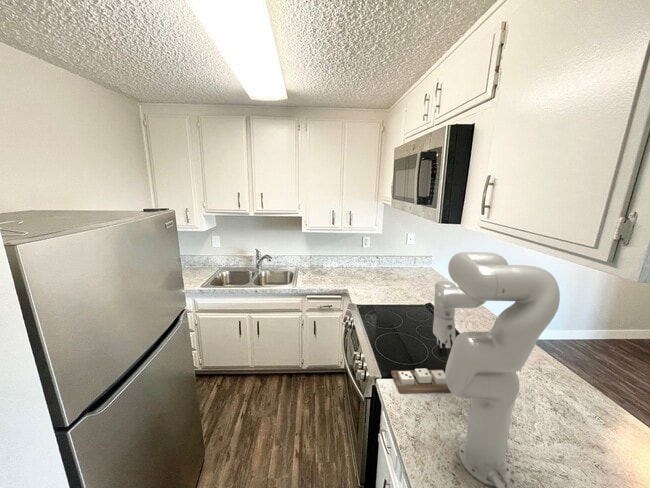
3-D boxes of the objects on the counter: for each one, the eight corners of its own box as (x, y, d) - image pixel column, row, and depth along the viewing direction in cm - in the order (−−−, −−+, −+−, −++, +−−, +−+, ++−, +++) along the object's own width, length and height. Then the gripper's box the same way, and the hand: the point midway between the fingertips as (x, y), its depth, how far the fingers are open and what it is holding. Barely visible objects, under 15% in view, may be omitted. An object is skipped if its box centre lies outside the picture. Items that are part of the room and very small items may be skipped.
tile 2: (431, 382, 105) (431, 375, 104) (419, 383, 105) (419, 376, 104) (426, 374, 110) (426, 368, 109) (414, 375, 109) (414, 368, 109)
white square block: (414, 385, 105) (414, 378, 104) (401, 386, 105) (402, 379, 104) (409, 377, 110) (410, 370, 109) (398, 377, 109) (398, 371, 109)
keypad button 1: (448, 385, 105) (448, 377, 104) (435, 385, 105) (436, 378, 104) (442, 376, 110) (442, 370, 109) (430, 377, 110) (431, 370, 109)
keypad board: (457, 392, 102) (457, 389, 101) (399, 393, 101) (399, 390, 101) (442, 372, 114) (443, 369, 113) (391, 373, 113) (391, 370, 113)
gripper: (463, 320, 95) (460, 366, 97) (444, 305, 110) (442, 346, 112) (443, 320, 95) (441, 366, 97) (426, 305, 110) (425, 346, 112)
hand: (441, 355), depth 105 cm, fingers closed
